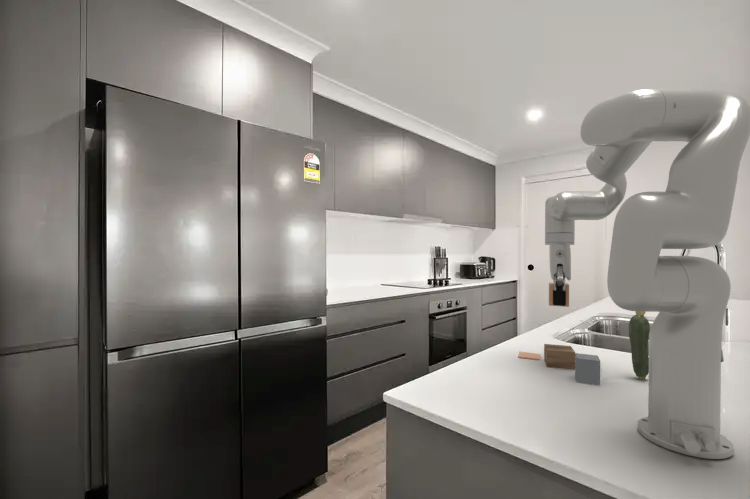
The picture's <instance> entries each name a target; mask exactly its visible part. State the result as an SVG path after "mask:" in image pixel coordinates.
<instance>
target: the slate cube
mask: <svg viewBox="0 0 750 499" xmlns="http://www.w3.org/2000/svg"><path fill="white" fill-rule="evenodd" d="M574 377H575V381H576V383H580V384H586V385H587V384H588V385H592V384H593V385H595V386H599V385H600V386H601V360H600V357H599V356H598V355H596V354H587V353H578V352H575V370H574Z"/></svg>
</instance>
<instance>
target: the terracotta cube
mask: <svg viewBox="0 0 750 499" xmlns="http://www.w3.org/2000/svg"><path fill="white" fill-rule="evenodd" d="M553 291H554V283H553V282H548V306H549V307H561V306H560V305H553ZM565 291H566V305H565V306H562V307H567V308H569V307H570V284H569V283H566V282H565Z"/></svg>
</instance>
